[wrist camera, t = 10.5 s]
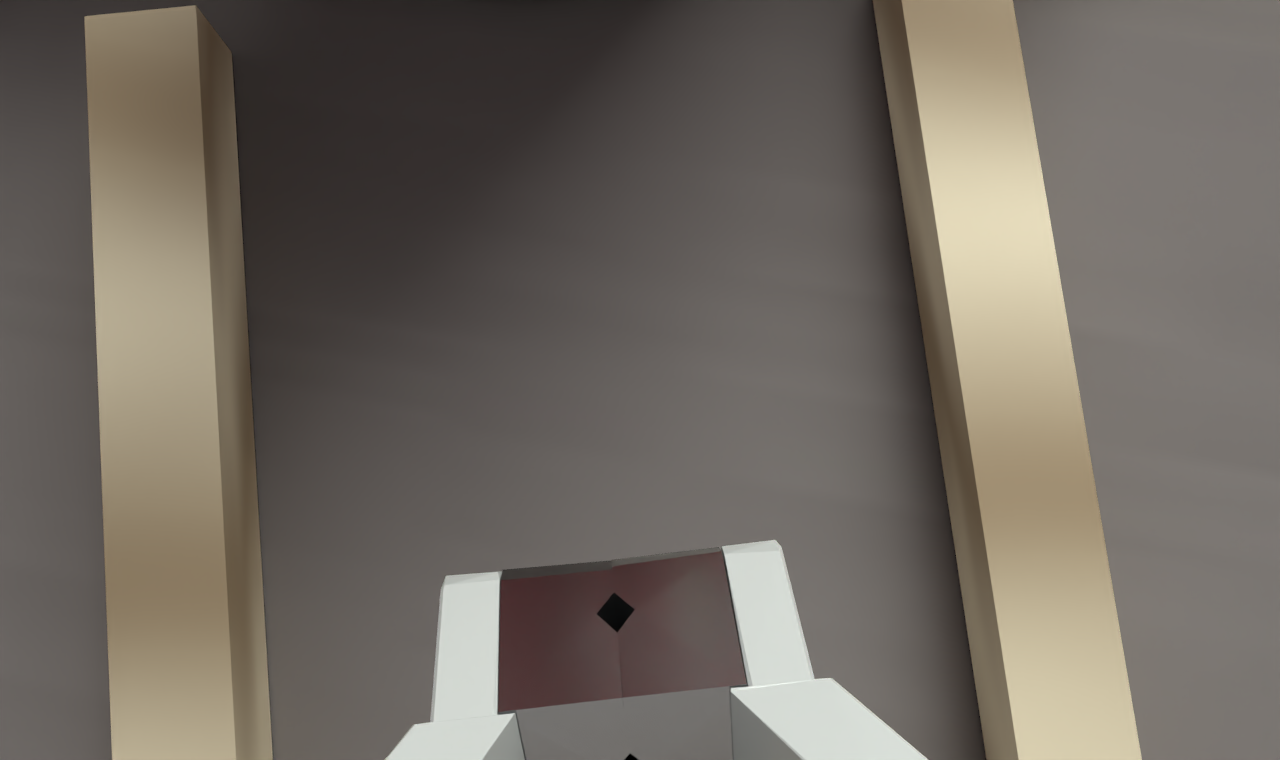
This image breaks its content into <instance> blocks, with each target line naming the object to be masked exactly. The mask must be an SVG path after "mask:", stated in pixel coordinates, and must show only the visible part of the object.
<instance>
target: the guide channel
mask: <svg viewBox="0 0 1280 760" xmlns="http://www.w3.org/2000/svg"><path fill="white" fill-rule="evenodd" d="M873 6H874V13H875V19H876V26H877V33H878V39H879V46H880V53H881V59H882V66H883V73H884V79H885V86H886V93H887V99H888V106H889V113H890V119H891V126H892V133H893V139H894V146H895V153H896V159H897V166H898V173H899V179H900V186H901V193H902V199H903V206H904V213H905V219H906V226H907V233H908V239H909V246H910V253H911V260H912V266H913V273H914V280H915V286H916V293H917V300H918V306H919V313H920V320H921V326H922V333H923V340H924V346H925V353H926V360H927V366H928V373H929V380H930V386H931V393H932V400H933V406H934V413H935V420H936V426H937V433H938V440H939V446H940V453H941V460H942V466H943V473H944V480H945V486H946V493H947V500H948V506H949V513H950V520H951V526H952V533H953V540H954V546H955V553H956V560H957V566H958V573H959V580H960V586H961V593H962V600H963V606H964V613H965V620H966V626H967V633H968V640H969V646H970V653H971V660H972V666H973V673H974V680H975V686H976V693H977V700H978V706H979V713H980V720H981V726H982V733H983V740H984V746H985V753H986V760H1142V758H1141V752H1140V746H1139V740H1138V734H1137V728H1136V723H1135V717H1134V711H1133V705H1132V699H1131V693H1130V687H1129V681H1128V675H1127V670H1126V664H1125V658H1124V652H1123V646H1122V640H1121V634H1120V628H1119V623H1118V617H1117V611H1116V605H1115V599H1114V593H1113V587H1112V581H1111V575H1110V570H1109V564H1108V558H1107V552H1106V546H1105V540H1104V534H1103V528H1102V522H1101V517H1100V511H1099V505H1098V499H1097V493H1096V487H1095V481H1094V475H1093V469H1092V464H1091V458H1090V452H1089V446H1088V440H1087V434H1086V428H1085V422H1084V417H1083V411H1082V405H1081V399H1080V393H1079V387H1078V381H1077V375H1076V369H1075V364H1074V358H1073V352H1072V346H1071V340H1070V334H1069V328H1068V322H1067V316H1066V311H1065V305H1064V299H1063V293H1062V287H1061V281H1060V275H1059V269H1058V264H1057V258H1056V252H1055V246H1054V240H1053V234H1052V228H1051V222H1050V216H1049V211H1048V205H1047V199H1046V193H1045V187H1044V181H1043V175H1042V169H1041V163H1040V158H1039V152H1038V146H1037V140H1036V134H1035V128H1034V122H1033V116H1032V110H1031V105H1030V99H1029V93H1028V87H1027V81H1026V75H1025V69H1024V63H1023V58H1022V52H1021V46H1020V40H1019V34H1018V28H1017V22H1016V16H1015V10H1014V5H1013V0H873ZM84 20H85V47H86V74H87V100H88V127H89V154H90V181H91V207H92V234H93V261H94V288H95V314H96V341H97V368H98V394H99V421H100V448H101V475H102V501H103V528H104V555H105V582H106V608H107V635H108V662H109V689H110V715H111V742H112V760H273V753H272V736H271V718H270V701H269V684H268V667H267V650H266V632H265V615H264V598H263V581H262V564H261V546H260V529H259V512H258V495H257V477H256V460H255V443H254V426H253V409H252V391H251V374H250V357H249V340H248V322H247V305H246V288H245V271H244V254H243V236H242V219H241V202H240V185H239V168H238V150H237V133H236V116H235V99H234V81H233V64H232V52H231V51H230V50H229V48H228V47H227V46H226V44H225V43H224V42H223V40H222V39H221V38H220V36H219V35H218V34H217V32H216V31H215V30H214V28H213V27H212V26H211V25H210V23H209V22H208V21H207V19H206V18H205V17H204V15H203V14H202V13H201V11H200V10H199V9H198V7H197V6H196V5H193V6H183V7H173V8H163V9H153V10H143V11H133V12H122V13H112V14H102V15H92V16H84Z"/></svg>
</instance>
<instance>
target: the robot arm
mask: <svg viewBox="0 0 1280 760" xmlns="http://www.w3.org/2000/svg"><path fill="white" fill-rule="evenodd" d="M385 760H928V759H927V758H926V757H925V756H923V755H922V754H921V753H920V752H919V751H917V750H916V749H915V748H914V747H913V746H912V745H910V744H909V743H908V742H907V741H906V740H904V739H903V738H902V737H901V736H900V735H899V734H897V733H896V732H895V731H894V730H893V729H891V728H890V727H889V726H888V725H887V724H886V723H884V722H883V721H882V720H881V719H880V718H878V717H877V716H876V715H875V714H874V713H873V712H871V711H870V710H869V709H868V708H867V707H865V706H864V705H863V704H862V703H861V702H860V701H858V700H857V699H856V698H855V697H854V696H852V695H851V694H850V693H849V692H848V691H847V690H845V689H844V688H843V687H842V686H841V685H839V684H838V683H837V682H836V681H835V680H834V679H832V678H823V679H814V675H813V671H812V667H811V663H810V659H809V655H808V651H807V647H806V643H805V639H804V635H803V631H802V627H801V623H800V619H799V615H798V611H797V607H796V603H795V599H794V595H793V591H792V587H791V583H790V579H789V575H788V571H787V567H786V563H785V559H784V555H783V551H782V547H781V546H780V545H779V544H778V542H777V541H776V540H770V541H762V542H753V543H745V544H737V545H729V546H722V548H721V549H720V548H719V547H715V548H707V549H699V550H690V551H682V552H673V553H665V554H657V555H648V556H640V557H631V558H623V559H615V560H612V561H600V562H588V563H577V564H565V565H553V566H542V567H530V568H519V569H507V570H503V571H501V572H488V573H475V574H462V575H450V576H446V577H445V580H444V582H443V585H442V587H441V592H440V605H439V617H438V630H437V643H436V656H435V669H434V682H433V694H432V707H431V720H430V722H428V723H421V724H414V725H413V726H412V727H411V728H410V729H409V731H408V732H407V733H406V734H405V736H404V737H403V738H402V739H401V740H400V742H399V743H398V744H397V745H396V747H395V748H394V749H393V750H392V751H391V753H390V754H389V755H388V756H387V758H386V759H385Z"/></svg>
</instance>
